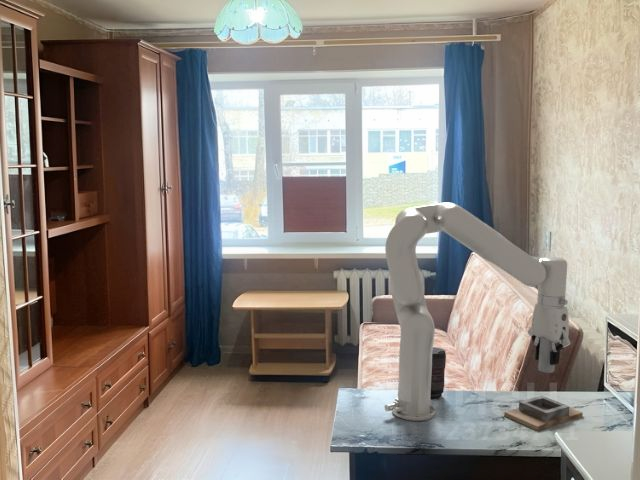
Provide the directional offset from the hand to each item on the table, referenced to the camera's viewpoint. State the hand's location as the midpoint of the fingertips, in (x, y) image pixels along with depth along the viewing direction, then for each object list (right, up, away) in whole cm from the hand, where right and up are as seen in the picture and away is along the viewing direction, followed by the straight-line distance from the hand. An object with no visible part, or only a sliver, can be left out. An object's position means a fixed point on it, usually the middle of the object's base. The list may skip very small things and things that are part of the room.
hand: (546, 360), depth 198 cm
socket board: (0, -17, +2) cm, 17 cm away
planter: (0, -3, 0) cm, 3 cm away
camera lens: (-31, -14, +17) cm, 38 cm away
